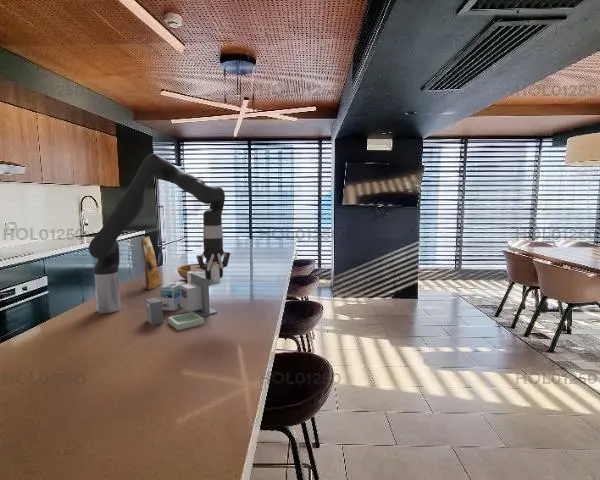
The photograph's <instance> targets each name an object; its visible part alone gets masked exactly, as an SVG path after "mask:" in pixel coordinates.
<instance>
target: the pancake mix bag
mask: <svg viewBox="0 0 600 480" xmlns="http://www.w3.org/2000/svg"><path fill="white" fill-rule="evenodd" d="M141 249H142V254H143V261H144V272H145V276H144V277H145V289H146V290H152V289H155V288H156V287H158V286H159V285H160V284H161V277H160V274H159V269H158V263H157V259H156V254H155V250H154V247H153V243H152V241H151V238H150V235H148V236H146V237H143V238H142V240H141Z"/></svg>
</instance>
